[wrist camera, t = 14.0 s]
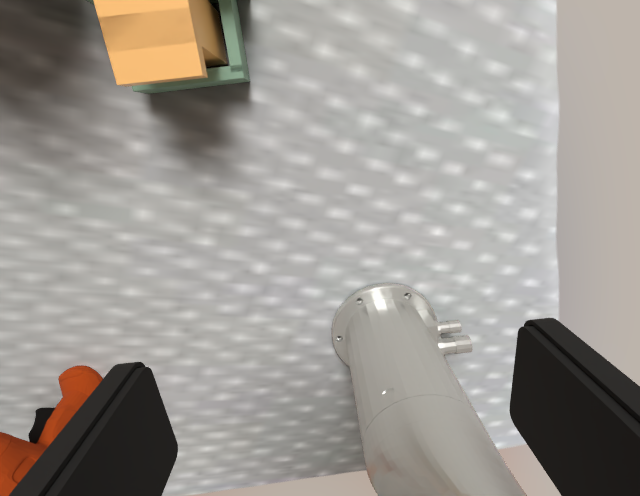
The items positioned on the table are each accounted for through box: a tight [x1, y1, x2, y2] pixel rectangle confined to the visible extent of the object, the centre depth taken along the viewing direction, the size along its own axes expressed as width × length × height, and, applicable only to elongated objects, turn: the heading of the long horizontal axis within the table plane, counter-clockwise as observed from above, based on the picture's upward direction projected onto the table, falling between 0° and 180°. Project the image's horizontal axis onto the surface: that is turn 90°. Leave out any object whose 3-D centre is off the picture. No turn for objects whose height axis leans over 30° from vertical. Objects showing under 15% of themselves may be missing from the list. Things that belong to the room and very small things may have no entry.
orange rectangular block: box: [93, 0, 227, 87], centre depth 27 cm, size 6×6×9 cm
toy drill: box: [0, 366, 103, 496], centre depth 35 cm, size 5×19×15 cm, turn 19°
